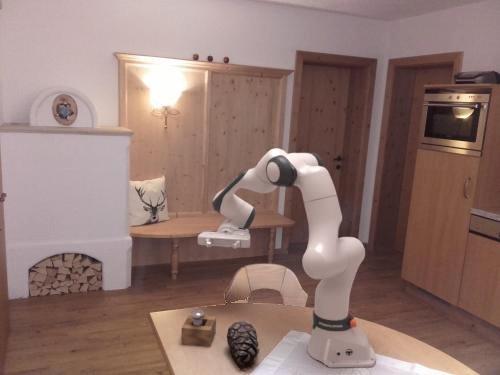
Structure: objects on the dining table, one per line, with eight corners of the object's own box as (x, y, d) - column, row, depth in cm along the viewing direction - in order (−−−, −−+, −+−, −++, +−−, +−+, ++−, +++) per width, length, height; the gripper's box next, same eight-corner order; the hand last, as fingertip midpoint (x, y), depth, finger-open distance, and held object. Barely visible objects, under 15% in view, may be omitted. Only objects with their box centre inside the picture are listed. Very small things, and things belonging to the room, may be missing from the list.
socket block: (215, 332, 162) (215, 316, 161) (210, 346, 153) (210, 330, 152) (188, 329, 163) (188, 314, 162) (181, 344, 154) (181, 327, 153)
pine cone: (235, 374, 138) (236, 344, 136) (222, 344, 154) (223, 317, 153) (268, 369, 140) (269, 340, 139) (251, 340, 157) (252, 314, 155)
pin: (206, 337, 159) (206, 310, 157) (200, 343, 154) (200, 316, 152) (195, 334, 160) (194, 308, 159) (188, 340, 156) (188, 314, 154)
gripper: (201, 226, 179) (193, 236, 166) (252, 229, 177) (248, 239, 163) (201, 241, 180) (193, 252, 167) (252, 244, 178) (247, 256, 164)
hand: (221, 246), depth 165 cm, fingers open, 8 cm apart
